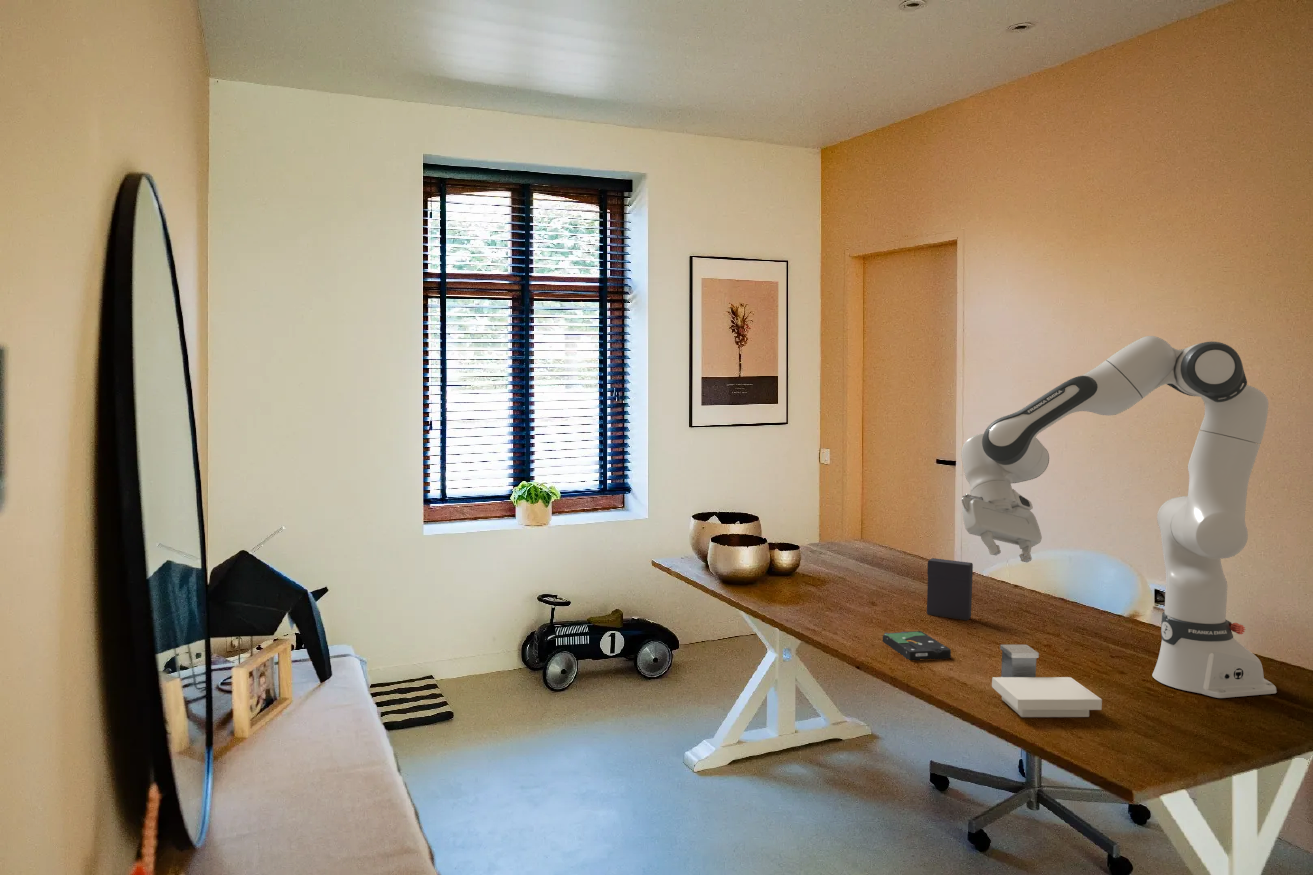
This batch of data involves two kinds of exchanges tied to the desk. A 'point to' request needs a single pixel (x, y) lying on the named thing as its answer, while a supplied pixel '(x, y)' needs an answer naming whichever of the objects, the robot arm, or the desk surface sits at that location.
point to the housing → (1018, 661)
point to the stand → (1046, 696)
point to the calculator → (949, 588)
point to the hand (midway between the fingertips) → (1011, 557)
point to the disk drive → (916, 645)
